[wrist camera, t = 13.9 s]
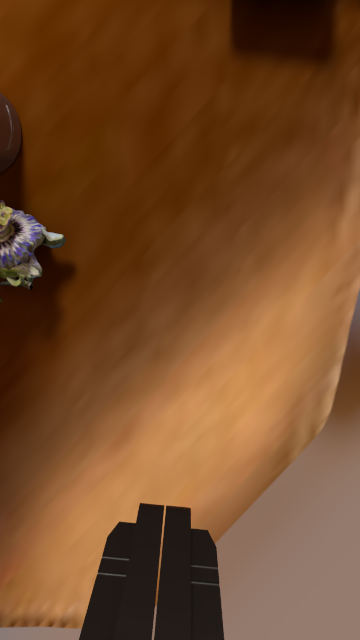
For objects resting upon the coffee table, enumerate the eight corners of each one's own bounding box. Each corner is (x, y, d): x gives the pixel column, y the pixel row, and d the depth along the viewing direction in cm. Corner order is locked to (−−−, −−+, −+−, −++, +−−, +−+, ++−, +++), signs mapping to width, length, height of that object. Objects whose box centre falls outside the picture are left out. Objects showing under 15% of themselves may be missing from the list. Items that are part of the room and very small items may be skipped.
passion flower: (46, 224, 45) (75, 211, 35) (36, 306, 45) (61, 315, 35) (-58, 199, 38) (-59, 174, 28) (-68, 295, 39) (-73, 302, 29)
